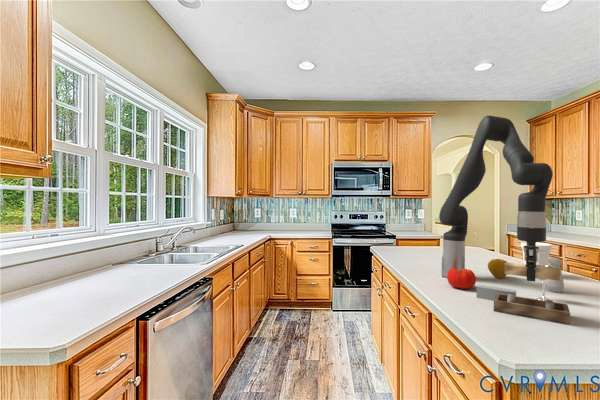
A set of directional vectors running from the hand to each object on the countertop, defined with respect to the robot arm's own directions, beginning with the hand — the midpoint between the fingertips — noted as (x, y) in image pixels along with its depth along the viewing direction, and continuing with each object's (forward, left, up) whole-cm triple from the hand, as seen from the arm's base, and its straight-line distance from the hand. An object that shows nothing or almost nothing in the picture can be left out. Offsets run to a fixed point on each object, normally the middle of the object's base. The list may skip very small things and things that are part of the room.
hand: (530, 278), depth 103 cm
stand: (-10, +10, -11) cm, 18 cm away
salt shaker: (+8, +37, -11) cm, 39 cm away
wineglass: (+4, +21, -11) cm, 24 cm away
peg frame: (0, 0, -11) cm, 11 cm away
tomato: (-23, +20, -11) cm, 33 cm away
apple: (-12, +49, -11) cm, 52 cm away
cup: (+2, +66, -11) cm, 67 cm away
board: (0, 0, +1) cm, 1 cm away
